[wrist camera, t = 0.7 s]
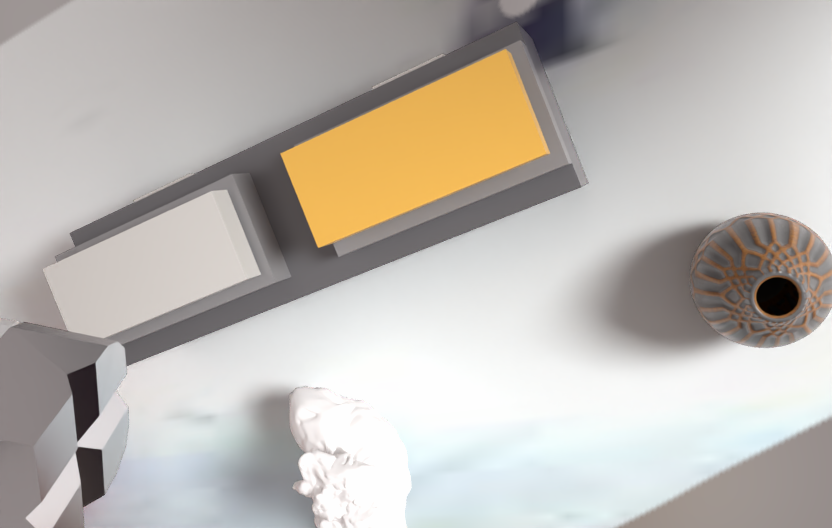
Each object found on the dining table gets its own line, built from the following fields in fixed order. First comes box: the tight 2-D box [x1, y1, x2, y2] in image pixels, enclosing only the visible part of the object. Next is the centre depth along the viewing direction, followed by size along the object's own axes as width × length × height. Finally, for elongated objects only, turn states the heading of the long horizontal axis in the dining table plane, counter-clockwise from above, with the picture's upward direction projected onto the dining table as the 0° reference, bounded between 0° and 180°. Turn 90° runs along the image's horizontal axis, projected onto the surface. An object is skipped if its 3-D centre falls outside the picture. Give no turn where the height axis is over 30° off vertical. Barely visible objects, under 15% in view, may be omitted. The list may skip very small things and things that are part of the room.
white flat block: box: [42, 190, 261, 339], centre depth 44 cm, size 12×5×2 cm, turn 112°
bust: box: [289, 387, 411, 528], centre depth 47 cm, size 12×8×11 cm
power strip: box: [55, 22, 588, 366], centre depth 46 cm, size 30×9×8 cm, turn 112°
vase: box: [690, 213, 832, 348], centre depth 39 cm, size 7×7×9 cm
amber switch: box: [280, 49, 550, 248], centre depth 37 cm, size 12×5×2 cm, turn 113°
